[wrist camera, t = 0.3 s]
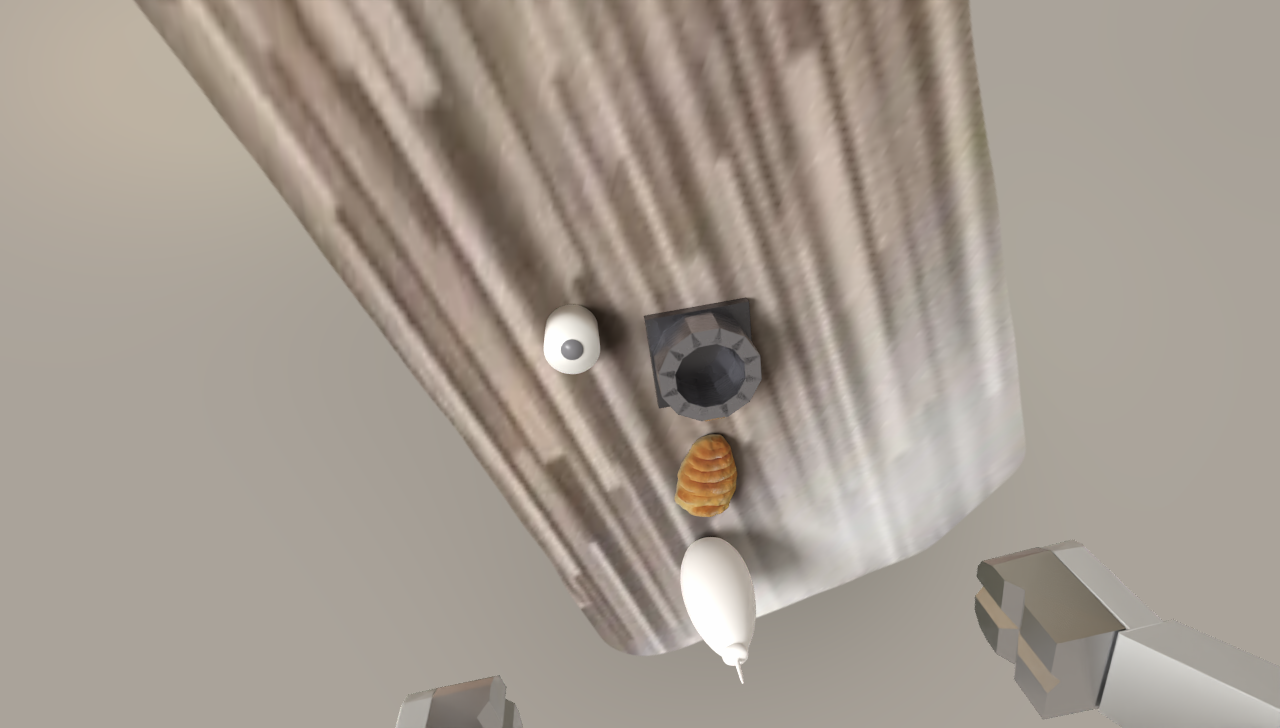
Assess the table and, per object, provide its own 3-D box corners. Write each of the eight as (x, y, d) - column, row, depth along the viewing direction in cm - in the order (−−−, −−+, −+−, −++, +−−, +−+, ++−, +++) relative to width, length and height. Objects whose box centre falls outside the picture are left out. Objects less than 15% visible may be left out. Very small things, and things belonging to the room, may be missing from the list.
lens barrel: (643, 316, 58) (650, 338, 53) (746, 297, 58) (760, 318, 54) (657, 403, 63) (664, 430, 58) (752, 386, 63) (766, 411, 58)
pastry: (679, 430, 65) (685, 451, 61) (740, 429, 66) (749, 450, 62) (672, 499, 69) (677, 522, 66) (729, 497, 70) (738, 519, 67)
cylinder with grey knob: (540, 309, 57) (537, 330, 52) (592, 299, 57) (594, 319, 53) (551, 356, 59) (550, 379, 55) (602, 346, 59) (604, 369, 55)
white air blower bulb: (738, 516, 71) (787, 651, 55) (735, 565, 75) (780, 704, 59) (673, 523, 71) (703, 661, 55) (673, 571, 74) (701, 714, 58)
